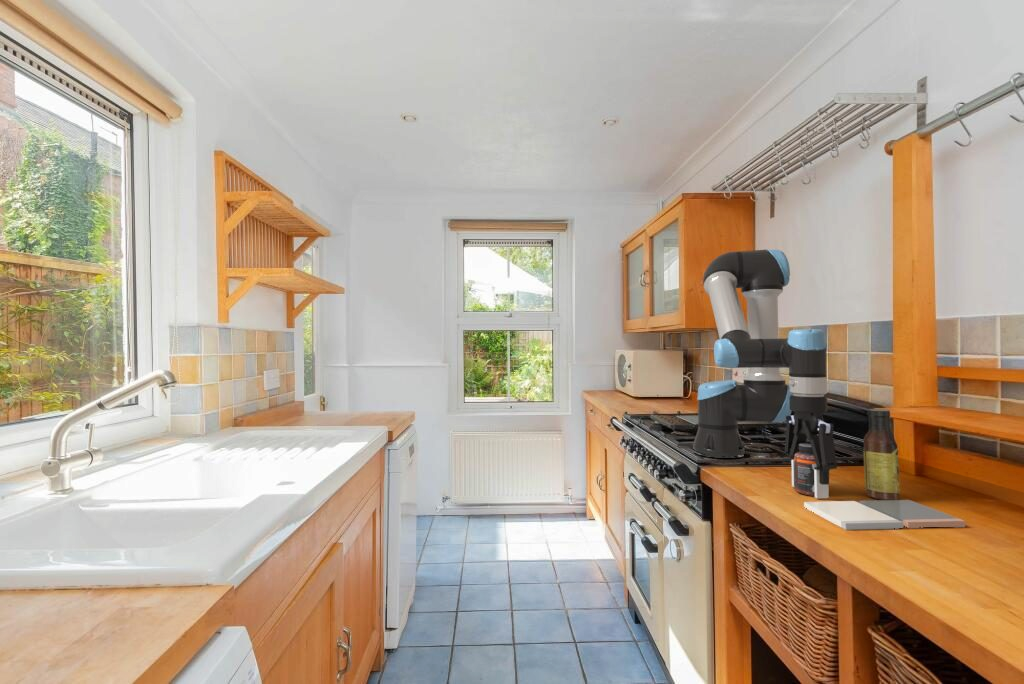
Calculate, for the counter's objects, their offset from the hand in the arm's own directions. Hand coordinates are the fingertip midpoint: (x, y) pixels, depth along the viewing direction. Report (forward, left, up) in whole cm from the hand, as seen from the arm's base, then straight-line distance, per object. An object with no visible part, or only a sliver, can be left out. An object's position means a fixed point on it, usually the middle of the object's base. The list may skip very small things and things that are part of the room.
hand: (809, 491), depth 110 cm
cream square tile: (+15, -2, 0) cm, 15 cm away
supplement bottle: (0, 0, 0) cm, 0 cm away
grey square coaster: (+15, +10, 0) cm, 18 cm away
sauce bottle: (+4, +14, 0) cm, 15 cm away
